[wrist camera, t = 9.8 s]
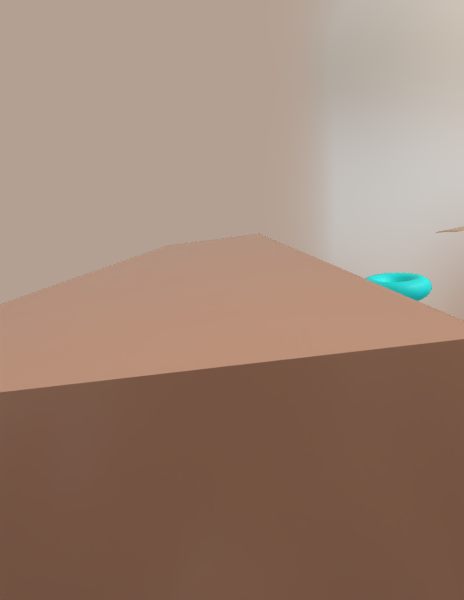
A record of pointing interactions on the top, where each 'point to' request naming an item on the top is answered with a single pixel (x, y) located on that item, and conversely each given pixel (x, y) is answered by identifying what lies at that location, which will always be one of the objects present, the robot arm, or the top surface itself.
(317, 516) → the terracotta tile
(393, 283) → the donuts
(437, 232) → the top surface
